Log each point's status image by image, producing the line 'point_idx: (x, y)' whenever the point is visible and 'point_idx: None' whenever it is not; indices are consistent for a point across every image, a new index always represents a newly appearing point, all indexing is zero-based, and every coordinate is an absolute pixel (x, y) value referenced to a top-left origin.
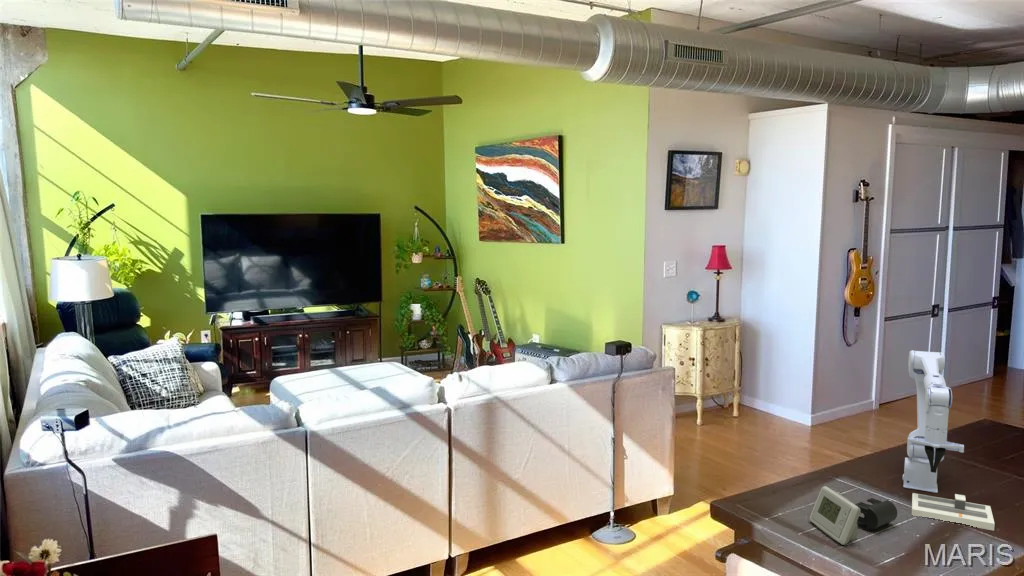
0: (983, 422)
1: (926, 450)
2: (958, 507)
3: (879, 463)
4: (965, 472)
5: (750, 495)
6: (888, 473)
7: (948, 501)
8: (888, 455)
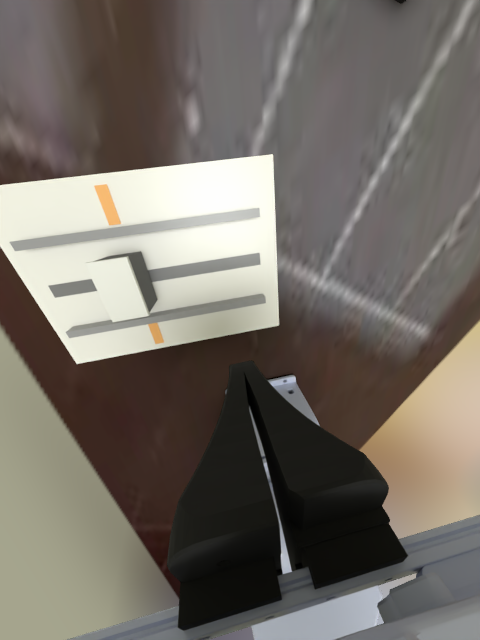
0: None
1: (378, 482)
2: (126, 254)
3: None
4: None
5: None
6: (320, 423)
7: (178, 310)
8: None
